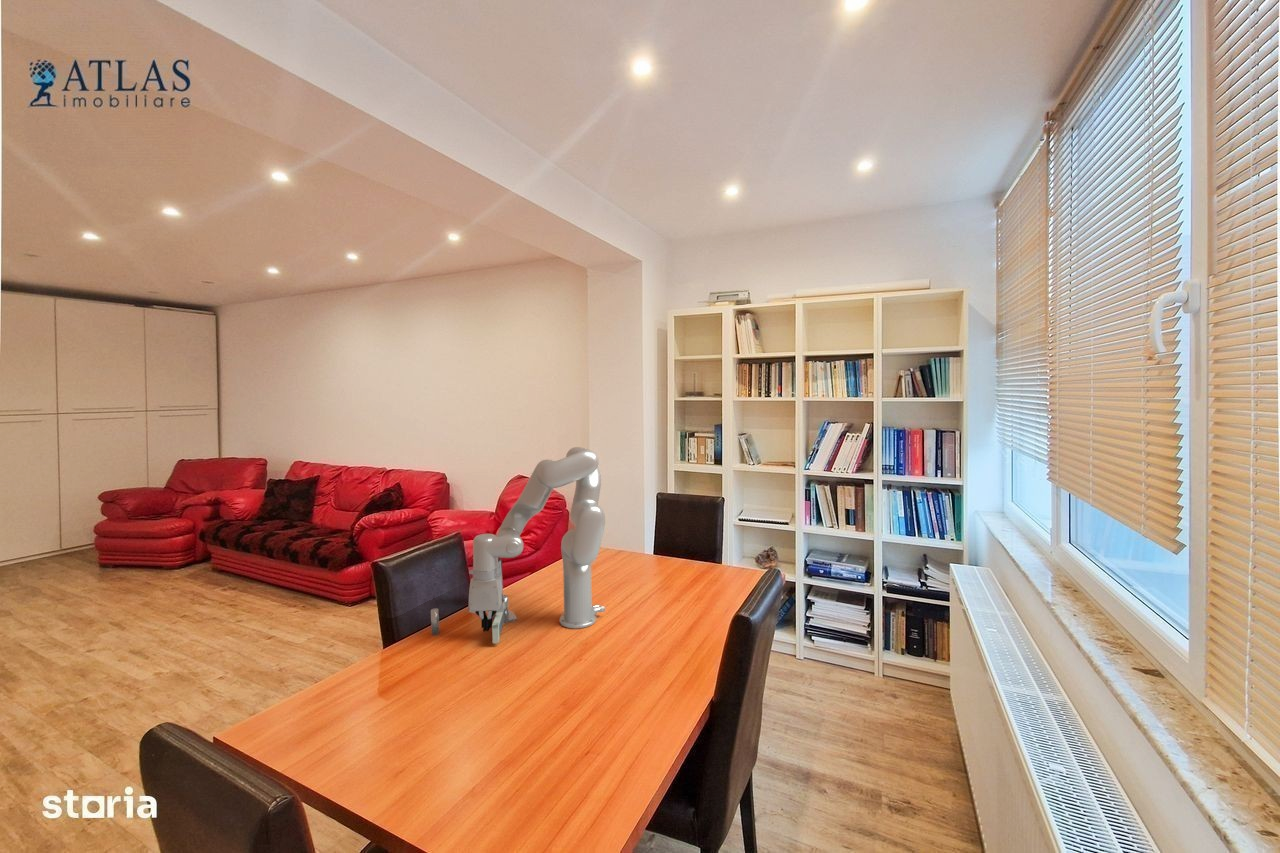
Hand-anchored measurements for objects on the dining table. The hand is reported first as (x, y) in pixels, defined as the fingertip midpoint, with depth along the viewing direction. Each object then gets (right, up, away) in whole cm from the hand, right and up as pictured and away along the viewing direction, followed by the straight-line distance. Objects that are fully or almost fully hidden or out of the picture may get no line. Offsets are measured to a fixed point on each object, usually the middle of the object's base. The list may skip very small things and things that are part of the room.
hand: (486, 629), depth 160 cm
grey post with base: (+2, -2, +14) cm, 15 cm away
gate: (+3, -1, +3) cm, 5 cm away
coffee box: (-8, -2, +28) cm, 30 cm away
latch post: (-18, -3, +4) cm, 19 cm away
